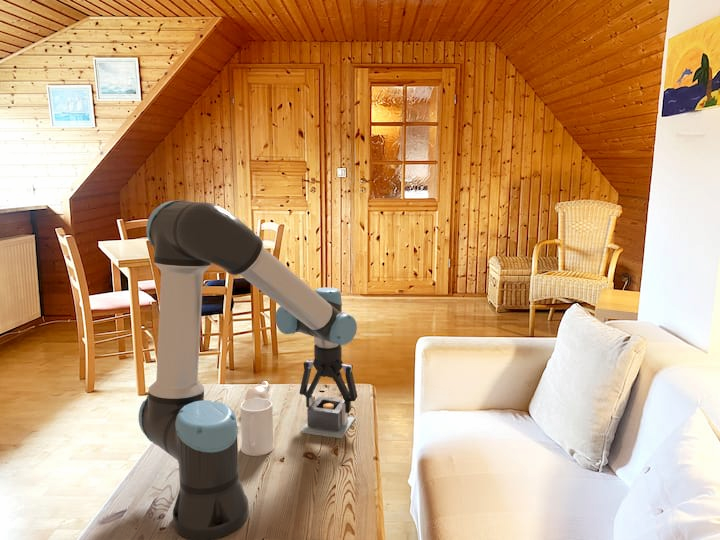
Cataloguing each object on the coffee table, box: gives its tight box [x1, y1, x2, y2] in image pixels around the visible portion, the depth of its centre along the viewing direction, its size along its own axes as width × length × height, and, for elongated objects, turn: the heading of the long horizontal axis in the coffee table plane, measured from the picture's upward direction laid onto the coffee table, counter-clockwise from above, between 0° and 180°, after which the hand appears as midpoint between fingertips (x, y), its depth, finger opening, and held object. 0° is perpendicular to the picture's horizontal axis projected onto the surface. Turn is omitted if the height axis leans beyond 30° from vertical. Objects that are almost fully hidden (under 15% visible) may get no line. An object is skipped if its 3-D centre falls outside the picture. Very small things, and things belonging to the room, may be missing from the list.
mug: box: [239, 398, 275, 457], centre depth 139 cm, size 12×8×12 cm
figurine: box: [244, 380, 272, 401], centre depth 167 cm, size 11×7×15 cm
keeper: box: [300, 403, 356, 439], centre depth 153 cm, size 12×12×6 cm
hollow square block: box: [306, 396, 350, 431], centre depth 153 cm, size 9×9×5 cm
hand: (328, 420), depth 154 cm, fingers closed on hollow square block, 9 cm apart
